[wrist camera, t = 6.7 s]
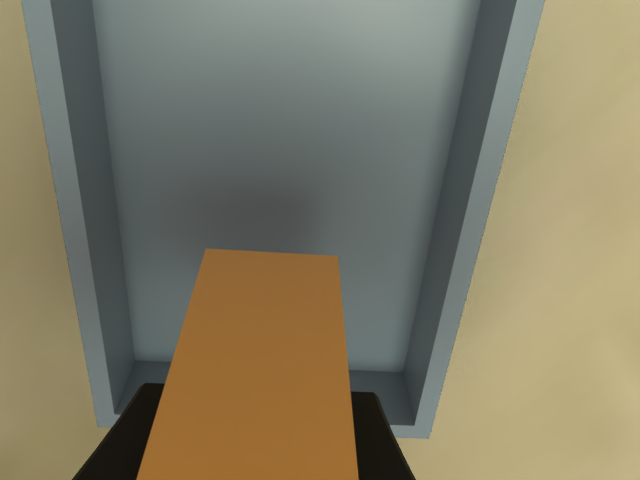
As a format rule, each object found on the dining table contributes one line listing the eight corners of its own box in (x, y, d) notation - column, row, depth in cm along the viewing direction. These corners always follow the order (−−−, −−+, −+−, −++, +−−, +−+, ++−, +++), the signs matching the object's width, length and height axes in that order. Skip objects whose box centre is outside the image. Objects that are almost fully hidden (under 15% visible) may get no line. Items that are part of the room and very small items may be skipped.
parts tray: (123, 362, 21) (97, 426, 18) (53, -164, 13) (-12, -184, 10) (414, 375, 21) (428, 438, 19) (524, -118, 13) (577, -125, 11)
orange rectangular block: (209, 389, 15) (124, 810, 8) (205, 248, 12) (81, 663, 6) (322, 394, 15) (335, 809, 8) (337, 256, 13) (376, 666, 6)
